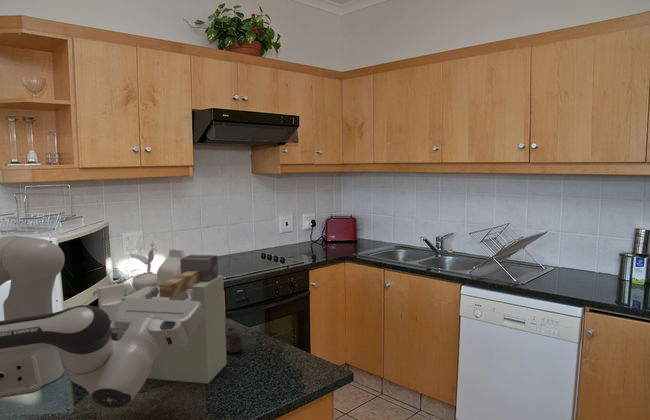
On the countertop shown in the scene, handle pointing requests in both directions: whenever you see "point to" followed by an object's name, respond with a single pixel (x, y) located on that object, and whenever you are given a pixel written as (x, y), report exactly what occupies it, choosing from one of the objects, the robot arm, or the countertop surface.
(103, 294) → the cylinder with rectangular tab
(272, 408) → the countertop surface
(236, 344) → the perforated stone tool
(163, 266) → the milk
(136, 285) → the potted plant
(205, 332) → the block
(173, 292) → the mallet
